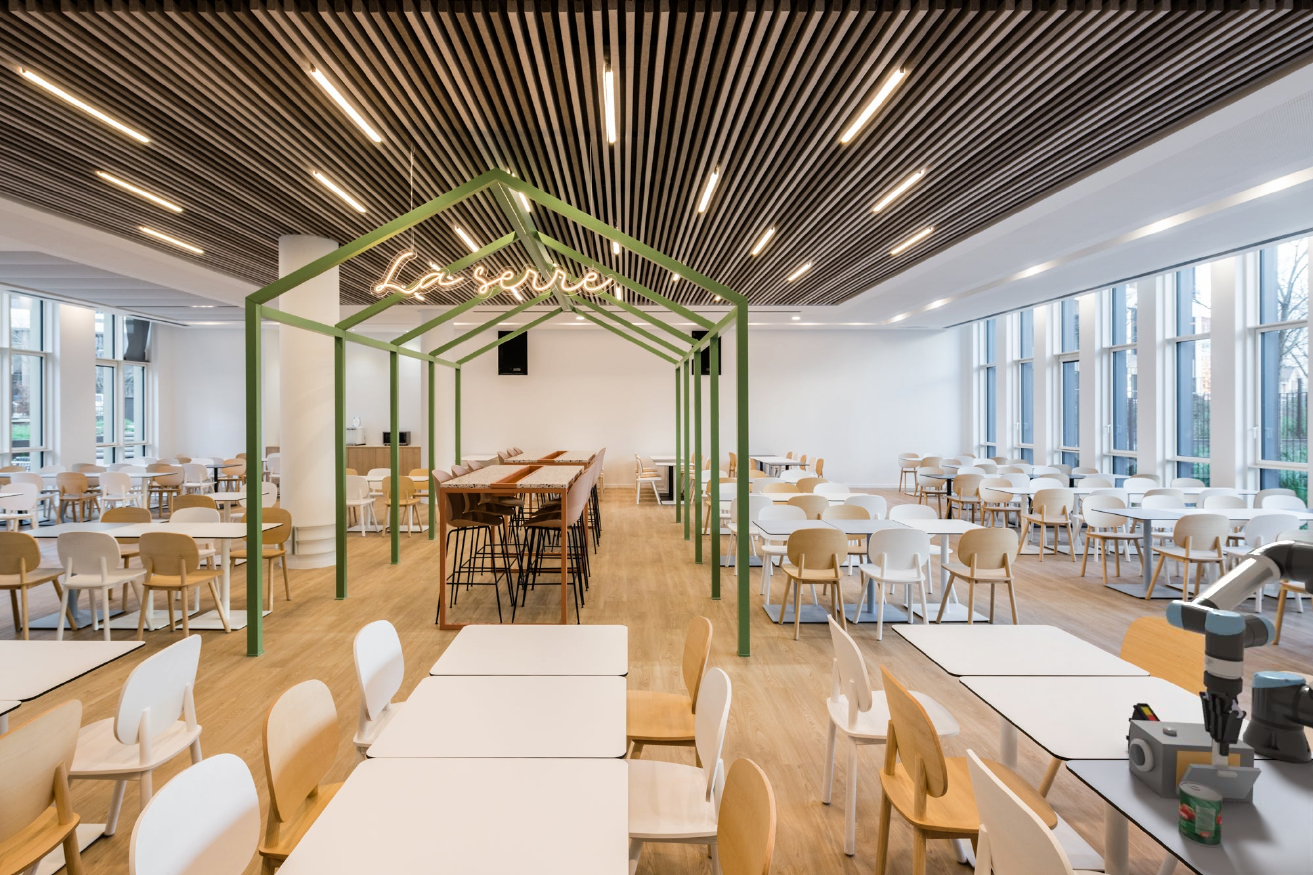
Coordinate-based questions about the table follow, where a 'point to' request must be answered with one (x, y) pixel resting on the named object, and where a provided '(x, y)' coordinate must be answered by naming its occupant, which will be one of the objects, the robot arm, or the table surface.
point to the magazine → (1142, 715)
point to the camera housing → (1177, 754)
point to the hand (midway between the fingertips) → (1219, 766)
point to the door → (1222, 779)
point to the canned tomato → (1200, 814)
